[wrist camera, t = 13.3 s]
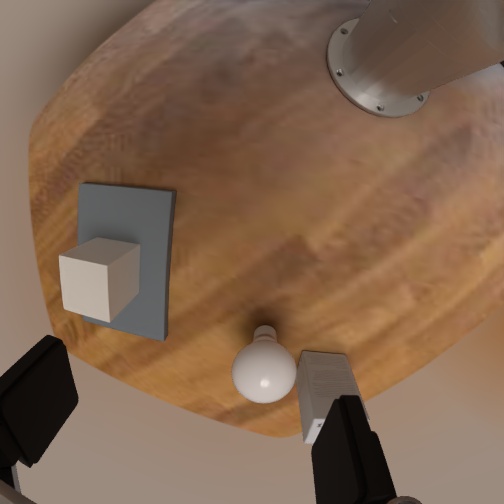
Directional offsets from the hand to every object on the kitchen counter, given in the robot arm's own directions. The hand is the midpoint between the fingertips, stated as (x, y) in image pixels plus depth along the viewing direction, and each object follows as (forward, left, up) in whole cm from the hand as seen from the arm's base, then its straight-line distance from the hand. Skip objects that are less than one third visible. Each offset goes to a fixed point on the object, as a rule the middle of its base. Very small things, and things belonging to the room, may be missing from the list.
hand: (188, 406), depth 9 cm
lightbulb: (+11, +4, -24) cm, 27 cm away
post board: (+5, -14, -24) cm, 28 cm away
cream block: (+5, -14, -23) cm, 27 cm away
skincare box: (+15, +12, -24) cm, 31 cm away
